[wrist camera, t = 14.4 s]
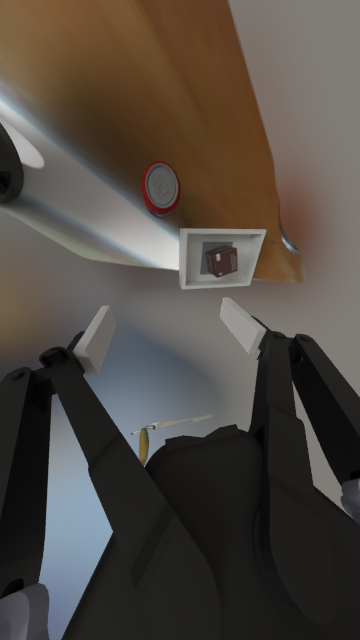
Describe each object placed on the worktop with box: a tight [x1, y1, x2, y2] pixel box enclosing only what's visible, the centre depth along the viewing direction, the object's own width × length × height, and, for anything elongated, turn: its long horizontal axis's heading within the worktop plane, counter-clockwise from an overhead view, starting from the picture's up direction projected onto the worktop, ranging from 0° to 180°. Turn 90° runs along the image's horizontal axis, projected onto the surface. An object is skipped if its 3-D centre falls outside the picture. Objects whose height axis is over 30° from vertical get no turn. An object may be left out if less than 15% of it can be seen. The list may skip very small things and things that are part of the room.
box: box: [205, 245, 238, 278], centre depth 38 cm, size 6×6×7 cm
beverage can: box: [142, 161, 180, 218], centre depth 27 cm, size 7×7×12 cm
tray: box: [179, 228, 267, 289], centre depth 40 cm, size 22×15×5 cm
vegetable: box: [139, 428, 149, 466], centre depth 91 cm, size 6×6×20 cm
